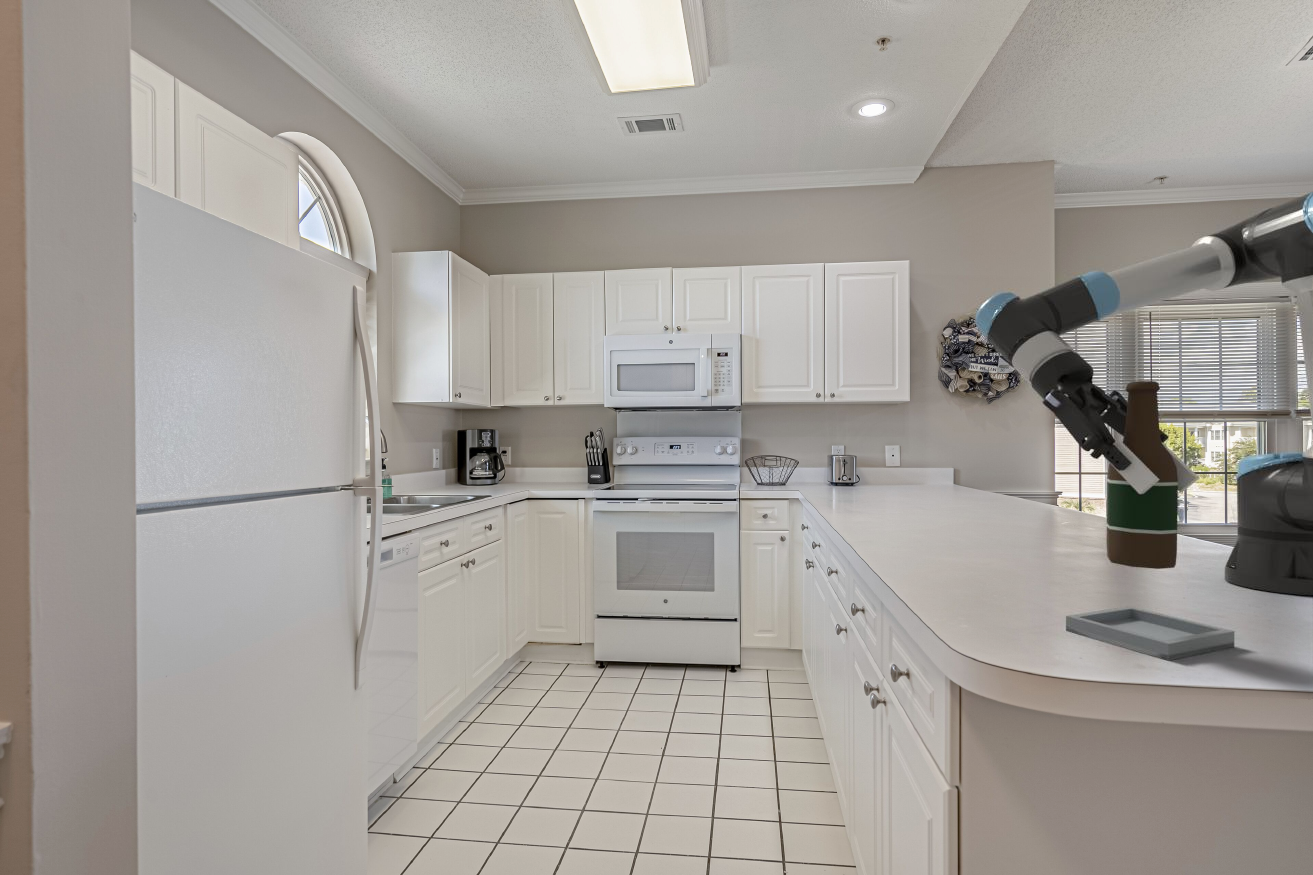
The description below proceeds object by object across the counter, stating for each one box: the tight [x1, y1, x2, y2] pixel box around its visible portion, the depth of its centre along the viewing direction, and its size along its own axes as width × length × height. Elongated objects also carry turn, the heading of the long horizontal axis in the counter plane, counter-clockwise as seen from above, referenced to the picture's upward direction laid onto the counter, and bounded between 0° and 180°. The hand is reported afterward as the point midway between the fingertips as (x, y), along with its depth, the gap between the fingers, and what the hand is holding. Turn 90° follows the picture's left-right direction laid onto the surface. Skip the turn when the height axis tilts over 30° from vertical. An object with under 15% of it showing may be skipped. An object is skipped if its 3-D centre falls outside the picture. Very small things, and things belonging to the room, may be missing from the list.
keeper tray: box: [1065, 606, 1235, 661], centre depth 88 cm, size 13×13×2 cm
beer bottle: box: [1106, 380, 1179, 570], centre depth 88 cm, size 8×8×24 cm
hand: (1169, 485), depth 85 cm, fingers closed on beer bottle, 7 cm apart
